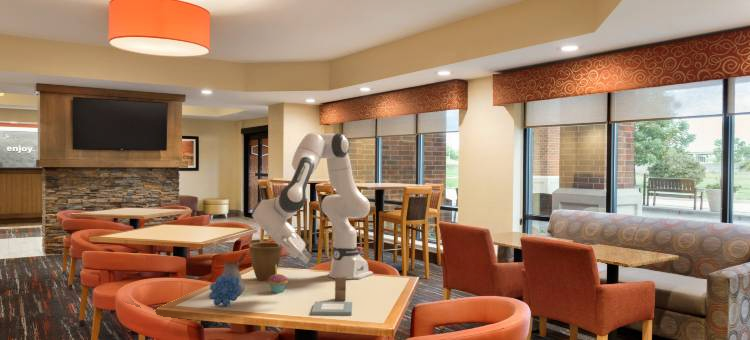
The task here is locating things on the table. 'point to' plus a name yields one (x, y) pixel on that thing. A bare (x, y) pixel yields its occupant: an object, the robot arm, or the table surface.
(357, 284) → the table surface
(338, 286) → the walnut block
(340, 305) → the plate
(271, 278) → the cupcake
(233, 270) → the coffee pot
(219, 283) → the grapes
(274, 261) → the plant pot
